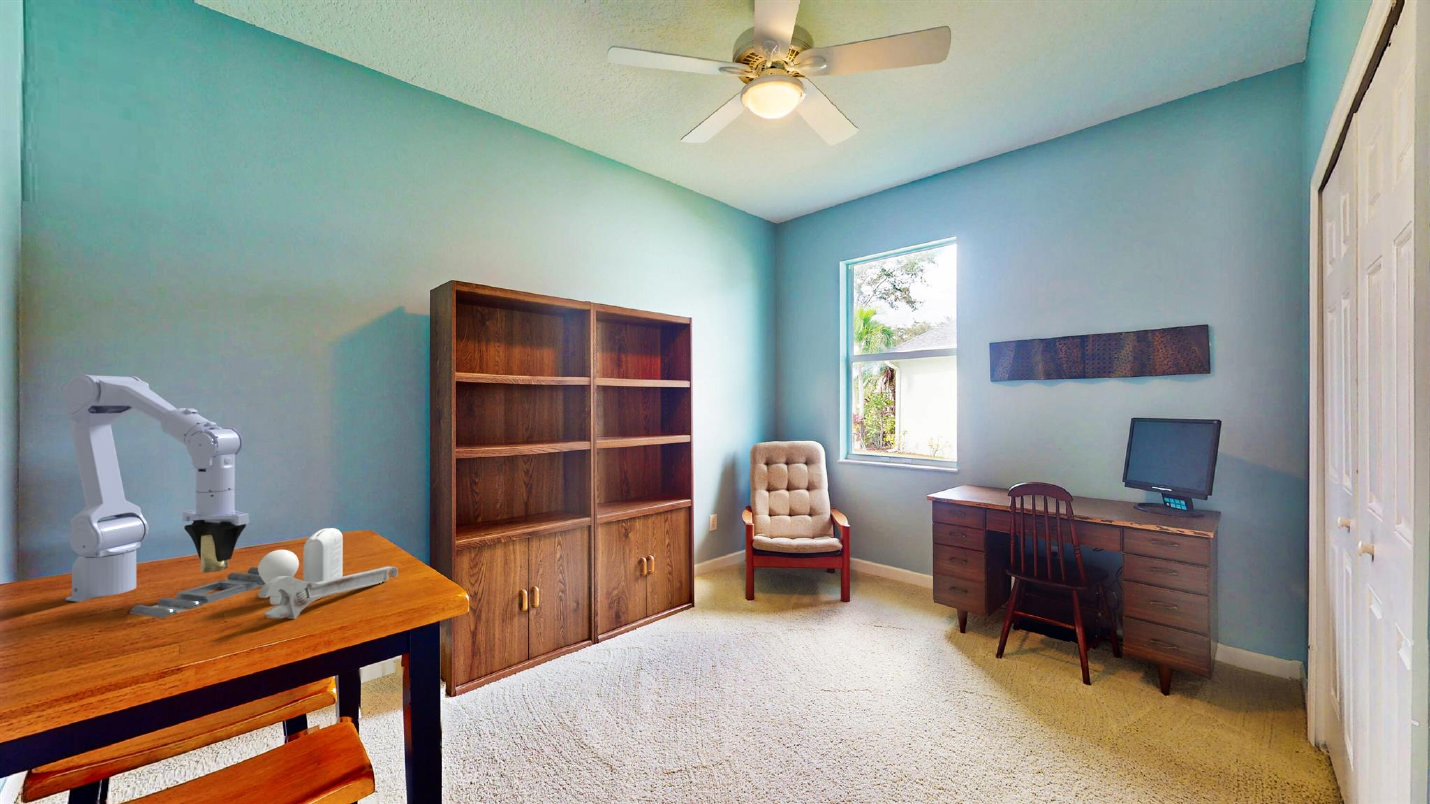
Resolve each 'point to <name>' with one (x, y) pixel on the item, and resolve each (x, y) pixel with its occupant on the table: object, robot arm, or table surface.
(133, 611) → the steel chain end
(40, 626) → the table surface
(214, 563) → the brass pin
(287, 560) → the lightbulb
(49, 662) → the table surface
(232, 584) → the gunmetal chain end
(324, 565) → the photo printer
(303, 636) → the table surface
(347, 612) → the table surface
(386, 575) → the wrench
